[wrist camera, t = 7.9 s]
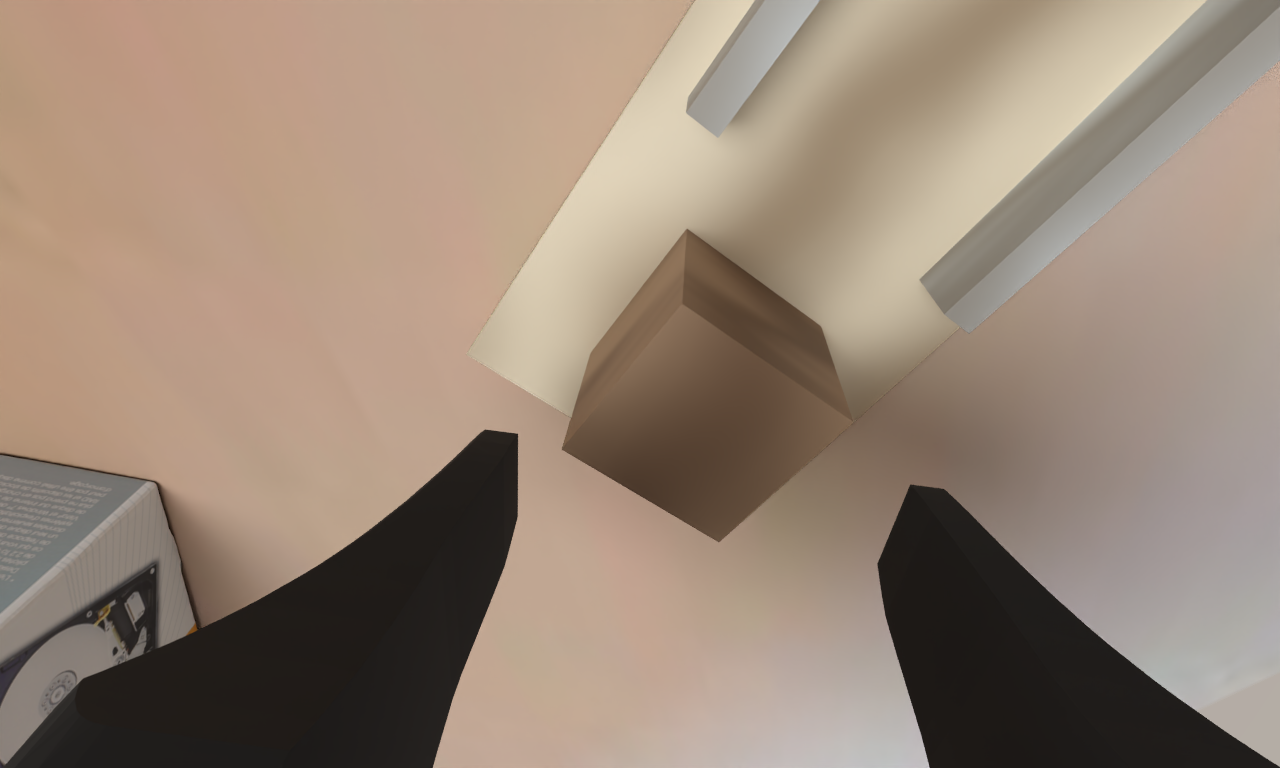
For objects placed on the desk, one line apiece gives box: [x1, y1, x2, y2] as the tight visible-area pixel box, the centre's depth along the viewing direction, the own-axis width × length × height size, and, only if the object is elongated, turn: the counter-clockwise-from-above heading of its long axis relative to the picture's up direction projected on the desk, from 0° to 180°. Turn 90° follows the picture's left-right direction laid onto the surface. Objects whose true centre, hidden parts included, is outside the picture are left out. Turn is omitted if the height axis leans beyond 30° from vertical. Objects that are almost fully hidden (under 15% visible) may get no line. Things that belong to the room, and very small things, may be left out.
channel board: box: [466, 0, 1280, 522], centre depth 14 cm, size 10×26×4 cm, turn 145°
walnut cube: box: [562, 229, 853, 542], centre depth 16 cm, size 4×4×4 cm
